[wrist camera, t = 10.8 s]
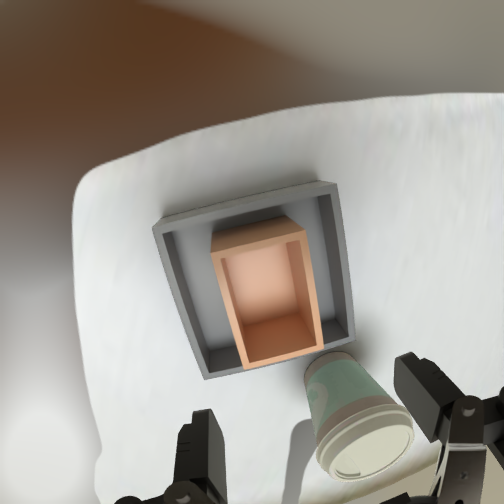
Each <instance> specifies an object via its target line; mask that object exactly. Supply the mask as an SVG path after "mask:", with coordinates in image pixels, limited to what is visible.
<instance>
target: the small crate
mask: <svg viewBox="0 0 504 504" xmlns="http://www.w3.org/2000/svg"><path fill="white" fill-rule="evenodd" d="M210 254H211V258H212V262H213V265H214V269H215V272H216V276H217V280H218V283H219V287H220V290H221V294H222V297H223V301H224V304H225V308H226V311H227V315H228V318H229V322H230V325H231V328H232V332H233V335H234V338H235V342H236V345H237V348H238V352H239V355H240V358H241V361H242V365H243V368H244V370H246V369H251V368H255V367H259V366H263V365H267V364H271V363H275V362H279V361H283V360H287V359H290V358H294V357H298V356H301V355H305V354H308V353H312V352H315V351H318V350H322V349H324V344H323V336H322V329H321V322H320V315H319V308H318V301H317V295H316V288H315V282H314V276H313V269H312V263H311V258H310V252H309V246H308V240H307V235H306V230H305V229H304V228H302V227H301V226H300V225H298V224H297V223H296V222H294V221H293V220H292V219H290V218H289V217H288V216H286V215H283V216H279V217H275V218H270V219H266V220H262V221H258V222H254V223H249V224H245V225H241V226H237V227H233V228H229V229H225V230H221V231H217V232H213V233H212V238H211V250H210Z"/></svg>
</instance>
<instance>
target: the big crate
mask: <svg viewBox="0 0 504 504" xmlns="http://www.w3.org/2000/svg"><path fill="white" fill-rule="evenodd" d="M283 215H286V216H288V217H289V218H290V219H292V220H293V221H294V222H296V223H297V224H298V225H300V226H301V227H302V228H304V229H305V230H306V235H307V240H308V246H309V252H310V258H311V263H312V269H313V276H314V282H315V288H316V295H317V301H318V308H319V315H320V322H321V329H322V336H323V344H324V349H322V350H318V351H315V352H312V353H308V354H305V355H301V356H298V357H294V358H290V359H287V360H283V361H279V362H275V363H271V364H267V365H263V366H259V367H255V368H251V369H246V370H244V368H243V365H242V361H241V358H240V355H239V352H238V348H237V345H236V342H235V338H234V335H233V332H232V328H231V325H230V322H229V318H228V315H227V311H226V308H225V304H224V301H223V297H222V294H221V290H220V287H219V283H218V280H217V276H216V272H215V269H214V265H213V262H212V258H211V254H210V250H211V238H212V233H213V232H217V231H221V230H225V229H229V228H233V227H237V226H241V225H245V224H249V223H254V222H258V221H262V220H266V219H270V218H275V217H279V216H283ZM152 231H153V234H154V238H155V241H156V244H157V248H158V251H159V254H160V257H161V261H162V264H163V267H164V270H165V273H166V277H167V280H168V283H169V286H170V289H171V292H172V295H173V298H174V301H175V304H176V306H177V309H178V312H179V315H180V318H181V321H182V323H183V326H184V329H185V332H186V334H187V337H188V340H189V342H190V345H191V348H192V350H193V353H194V356H195V358H196V361H197V363H198V366H199V368H200V371H201V373H202V376H203V378H204V380H207V379H212V378H217V377H222V376H226V375H231V374H236V373H240V372H245V371H249V370H253V369H257V368H262V367H266V366H270V365H274V364H277V363H281V362H285V361H289V360H293V359H296V358H300V357H303V356H307V355H310V354H314V353H317V352H321V351H324V350H327V349H330V348H334V347H337V346H340V345H343V344H346V343H349V342H352V341H355V340H356V337H355V324H354V311H353V300H352V290H351V281H350V272H349V263H348V255H347V248H346V240H345V233H344V226H343V219H342V213H341V207H340V201H339V195H338V189H337V184H336V183H330V182H324V181H315V182H310V183H305V184H301V185H296V186H291V187H286V188H282V189H277V190H273V191H268V192H264V193H260V194H255V195H251V196H247V197H242V198H238V199H234V200H230V201H226V202H222V203H218V204H214V205H210V206H206V207H202V208H198V209H194V210H190V211H186V212H182V213H179V214H175V215H171V216H167V217H164V218H161V219H160V220H159V221H158V222H157V223H156V224H155V225H154V226H153V227H152Z"/></svg>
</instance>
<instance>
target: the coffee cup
mask: <svg viewBox="0 0 504 504" xmlns="http://www.w3.org/2000/svg"><path fill="white" fill-rule="evenodd" d="M304 382H305V387H306V392H307V397H308V402H309V407H310V412H311V417H312V422H313V426H314V432H315V437H316V441H317V446H318V448H317V451H316V459H317V461H318V463H319V464H320V466H321V468H322V469H323V470H324V471H326V472H327V473H328V474H329V475H330V476H331V477H332V478H333V479H334V480H337V481H340V482H354V481H360V480H364V479H367V478H370V477H372V476H375V475H377V474H379V473H381V472H383V471H385V470H386V469H388V468H389V467H391V466H392V465H394V464H395V463H396V462H397V461H399V460H400V459H401V458H402V457H403V456H404V455H405V454H406V452H407V451H408V450H409V448H410V447H411V445H412V443H413V440H414V431H413V427H412V426H413V422H412V418H411V416H410V413H409V411H408V410H407V409H406V408H405V407H403V406H401V405H398V404H397V403H396V402H395V401H394V400H393V399H392V398H391V397H390V396H389V395H388V394H387V393H386V391H385V390H384V389H383V388H382V387H381V386H380V385H379V384H378V383H377V382H376V381H375V380H374V379H373V378H372V377H371V376H370V375H369V374H368V373H367V372H366V371H365V370H364V369H363V368H362V366H361V365H360V364H359V363H358V362H357V361H356V360H355V359H354V358H353V357H352V356H351V355H349V354H347V353H345V352H331V353H327V354H324V355H322V356H320V357H319V358H317V359H316V360H315V361H313V362H312V363H311V365H310V366H309V367H308V369H307V370H306V373H305V376H304Z"/></svg>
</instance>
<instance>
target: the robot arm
mask: <svg viewBox="0 0 504 504" xmlns="http://www.w3.org/2000/svg"><path fill="white" fill-rule="evenodd" d="M394 388H395V391H396V394H397V395H398V397H399V398H400V400H401V401H402V403H403V404H404V405H405V407H406V408H407V410H408V411H409V413H410V414H411V415H412V417H413V418H414V420H415V421H416V423H417V424H418V425H419V427H420V428H421V430H422V431H423V433H424V434H425V436H426V437H427V439H428V440H429V442H430V443H432V442H434V441H436V440H438V439H439V440H440V441H441V443H442V444H441V447H440V452H439V457H438V462H437V467H436V471H435V476H434V480H433V483H432V486H431V489H430V492H429V495H428V496H414V497H409V496H408V494H407V492H406V493H403V494H401V495H399V496H396V497H394V498H392V499H389V500H387V501H384V502H382V503H380V504H480V500H481V494H482V488H483V480H484V472H485V463H486V451H487V450H486V446H484V445H487V446H488V448H489V449H490V450H491V452H492V453H493V455H494V456H495V458H496V459H497V461H498V462H499V464H500V465H501V467H502V468H503V470H504V386H503V387H502V389H501V390H500V393H499V395H498V396H495V397H492V398H488V399H484V400H481V399H480V398H478V397H476V396H472V395H467V396H465V395H464V394H463V392H462V391H461V390H460V389H459V388H458V387H457V386H456V385H455V384H454V383H453V382H452V381H451V380H450V379H449V378H448V377H447V376H446V374H445V373H444V372H443V371H441V370H440V368H439V367H438V366H437V365H436V364H435V363H434V362H432V361H430V360H428V359H426V358H423V359H421V360H420V359H419V358H418V357H417V356H416V355H415V354H414V353H413V352H409V353H406V354H404V355H401V356H399V357H396V358H395V365H394ZM176 452H177V453H176V458H175V468H174V478H173V483H172V484H171V485H170V486H169V487H168V488H167V489H166V490H165V492H164V494H162V495H160V496H158V497H155V498H151V499H148V500H144V501H141V500H140V499H139V498H137V497H134V496H125V497H122V498H120V499H119V500H117V501H116V502H115V503H114V504H228V503H227V486H226V466H225V444H224V437H223V434H222V431H221V429H220V427H219V424H218V422H217V420H216V418H215V416H214V414H213V411H212V410H211V409H205V410H199V411H193V414H192V423H191V424H184V425H183V427H182V428H181V430H180V432H179V433H178V440H177V449H176Z"/></svg>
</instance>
